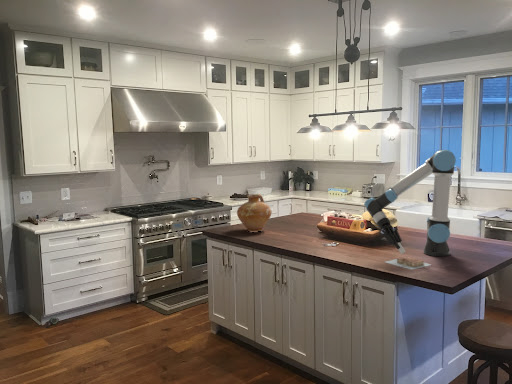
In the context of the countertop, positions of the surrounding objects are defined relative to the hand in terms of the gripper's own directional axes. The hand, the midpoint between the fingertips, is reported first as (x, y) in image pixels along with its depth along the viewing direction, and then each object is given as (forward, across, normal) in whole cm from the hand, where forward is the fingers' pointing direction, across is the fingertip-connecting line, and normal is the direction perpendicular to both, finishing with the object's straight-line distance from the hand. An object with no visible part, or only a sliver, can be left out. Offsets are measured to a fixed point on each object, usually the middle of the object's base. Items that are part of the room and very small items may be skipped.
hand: (403, 252), depth 259 cm
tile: (+2, 0, -4) cm, 4 cm away
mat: (+6, 0, -2) cm, 7 cm away
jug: (-91, +18, -100) cm, 136 cm away
